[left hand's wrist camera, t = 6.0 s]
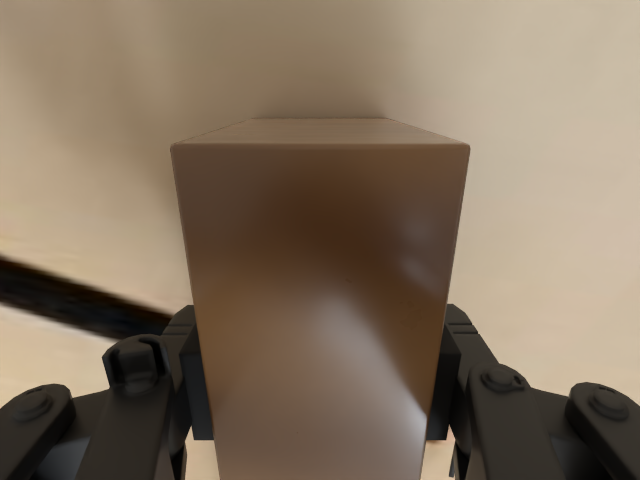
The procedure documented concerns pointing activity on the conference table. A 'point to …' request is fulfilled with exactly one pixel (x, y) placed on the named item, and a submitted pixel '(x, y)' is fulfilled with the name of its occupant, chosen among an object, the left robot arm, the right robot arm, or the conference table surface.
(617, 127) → the conference table surface
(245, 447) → the bar
